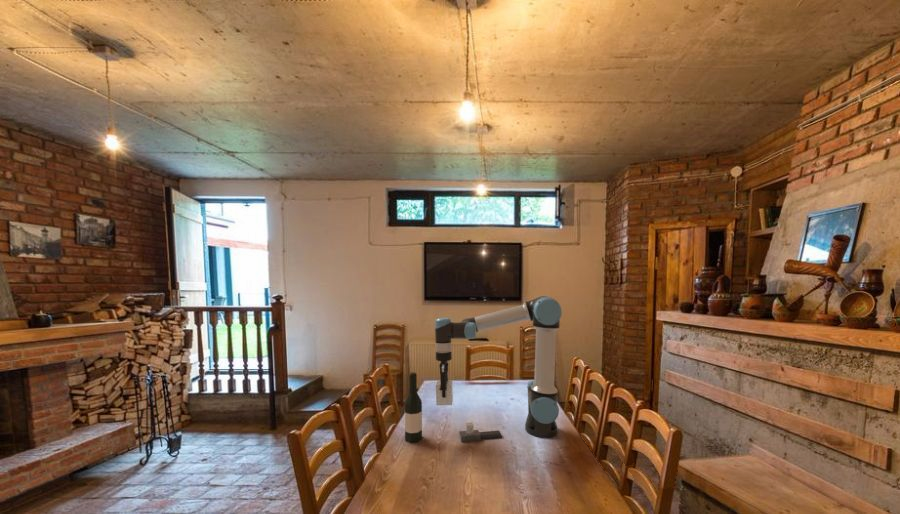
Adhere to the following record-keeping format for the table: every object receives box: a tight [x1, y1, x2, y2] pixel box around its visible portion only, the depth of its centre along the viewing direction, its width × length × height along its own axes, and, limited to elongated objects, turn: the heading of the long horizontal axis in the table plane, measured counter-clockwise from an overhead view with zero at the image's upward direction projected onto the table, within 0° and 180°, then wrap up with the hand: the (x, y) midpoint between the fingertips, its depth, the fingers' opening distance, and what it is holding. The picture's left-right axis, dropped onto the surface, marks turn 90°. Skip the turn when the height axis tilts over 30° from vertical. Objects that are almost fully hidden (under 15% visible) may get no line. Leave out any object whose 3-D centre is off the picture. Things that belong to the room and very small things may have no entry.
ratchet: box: [458, 421, 502, 443], centre depth 151 cm, size 19×5×6 cm, turn 99°
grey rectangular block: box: [435, 379, 454, 406], centre depth 153 cm, size 7×7×9 cm
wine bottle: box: [404, 371, 423, 444], centre depth 152 cm, size 8×8×30 cm
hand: (444, 401), depth 153 cm, fingers closed on grey rectangular block, 7 cm apart
